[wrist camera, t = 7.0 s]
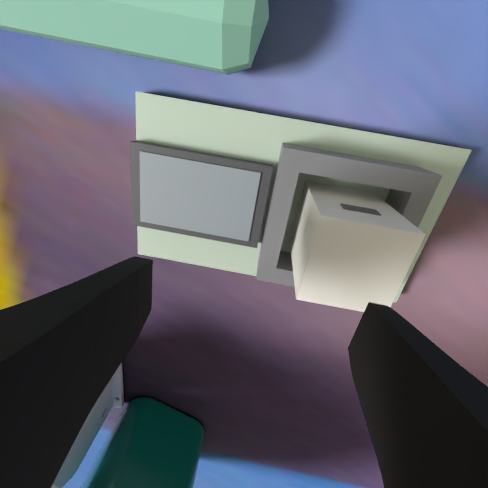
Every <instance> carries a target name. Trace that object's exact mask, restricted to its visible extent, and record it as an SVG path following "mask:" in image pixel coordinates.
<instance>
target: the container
mask: <svg viewBox="0 0 488 488" xmlns="http://www.w3.org/2000/svg"><path fill="white" fill-rule="evenodd" d="M268 20H269V6H268V0H0V29H2V30H7V31H12V32H17V33H22V34H27V35H32V36H37V37H42V38H47V39H52V40H57V41H62V42H67V43H72V44H77V45H82V46H87V47H92V48H97V49H102V50H107V51H112V52H117V53H122V54H127V55H132V56H137V57H142V58H148V59H153V60H158V61H163V62H168V63H173V64H178V65H183V66H188V67H193V68H198V69H203V70H208V71H213V72H218V73H223V74H232V73H235V72H239V71H242V70H245V69H249V68H251V65H252V63H253V60H254V57H255V55H256V52H257V49H258V47H259V44H260V41H261V39H262V36H263V33H264V31H265V28H266V25H267V23H268Z"/></svg>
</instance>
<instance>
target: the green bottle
mask: <svg viewBox="0 0 488 488" xmlns="http://www.w3.org/2000/svg"><path fill="white" fill-rule="evenodd" d="M204 434H205V433H204V429H203V427H202V425H201V423H199V422H198V421H197V420H196V419H194V418H192V417H190V416H188V415H186V414H184V413H182V412H180V411H178V410H176V409H174V408H172V407H170V406H168V405H166V404H164V403H161V402H159V401H157V400H155V399H153V398H149V397H139V398H136V399H133V400H131V401H130V402H129V404H128V405H127V406H126V408H125V409H124V410H123V412H122V413H121V415H120V416H119V417H118V419H117V420H116V421H115V423H114V424H113V426H112V427H111V429H110V431H109V433H108V435H107V437H106V439H105V441H104V443H103V445H102V447H101V448H100V450H99V452H98V454H97V456H96V458H95V460H94V462H93V464H92V466H91V468H90V470H89V472H88V473H87V475H86V477H85V479H84V481H83V483H82V485H81V487H80V488H193V485H194V480H195V475H196V471H197V466H198V462H199V457H200V453H201V448H202V443H203V439H204Z"/></svg>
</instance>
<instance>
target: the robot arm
mask: <svg viewBox="0 0 488 488" xmlns="http://www.w3.org/2000/svg"><path fill="white" fill-rule="evenodd" d="M152 264H153V260H150V259H145V258H140V257H132V258H129V259H127V260H124V261H122V262H119V263H117V264H115V265H113V266H110V267H108V268H106V269H104V270H102V271H99V272H97V273H95V274H93V275H90V276H88V277H86V278H84V279H81V280H79V281H77V282H74V283H72V284H69V285H67V286H64V287H62V288H59V289H57V290H54V291H52V292H49V293H47V294H44V295H42V296H39V297H37V298H34V299H31V300H29V301H26V302H23V303H20V304H17V305H14V306H11V307H8V308H5V309H2V310H0V488H62V487H63V486H64V485H65V484H66V483H67V482H68V481H69V480H70V479H71V478H72V476H73V475H74V474H75V472H76V471H77V469H78V467H79V466H80V464H81V462H82V460H83V459H84V457H85V455H86V453H87V451H88V449H89V448H90V446H91V444H92V442H93V440H94V439H95V437H96V435H97V433H98V431H99V430H100V428H101V426H102V424H103V422H104V421H105V419H106V417H107V415H108V413H109V411H110V410H111V408H112V407H115V408H122V407H123V405H124V391H123V372H122V361H123V360H124V358H125V356H126V355H127V353H128V352H129V350H130V349H131V347H132V345H133V344H134V342H135V341H136V339H137V337H138V336H139V334H140V332H141V330H142V328H143V326H144V324H145V322H146V320H147V317H148V315H149V313H150V311H151V303H152ZM348 351H349V358H350V364H351V370H352V375H353V380H354V383H355V387H356V390H357V393H358V397H359V400H360V403H361V407H362V410H363V413H364V416H365V420H366V423H367V426H368V429H369V433H370V436H371V439H372V442H373V446H374V449H375V452H376V455H377V459H378V463H379V467H380V470H381V474H382V479H383V483H384V488H488V387H487V386H486V385H484V384H483V383H482V382H481V381H479V380H478V379H477V378H476V377H474V376H473V375H472V374H470V373H469V372H468V371H467V370H465V369H464V368H463V367H462V366H460V365H459V364H458V363H457V362H456V361H454V360H453V359H452V358H451V357H449V356H448V355H447V354H446V353H445V352H443V351H442V350H441V349H440V348H439V347H437V346H436V345H435V344H434V343H433V342H432V341H430V340H429V339H428V338H427V337H426V336H424V335H423V334H422V333H421V332H420V331H419V330H417V329H416V328H415V327H414V326H413V325H412V324H410V323H409V322H408V321H407V320H405V319H404V318H403V317H402V316H401V315H399V314H398V313H397V312H395V311H394V310H393V309H391V308H390V307H389V306H386V305H381V304H376V303H371V302H369V303H368V305H367V307H366V309H365V311H364V314H363V316H362V318H361V320H360V323H359V325H358V327H357V329H356V331H355V334H354V336H353V338H352V340H351V342H350V345H349V347H348Z"/></svg>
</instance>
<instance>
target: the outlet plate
mask: <svg viewBox="0 0 488 488" xmlns="http://www.w3.org/2000/svg"><path fill="white" fill-rule="evenodd" d="M471 151H472V150H469V149H463V148H458V147H452V146H446V145H441V144H435V143H429V142H424V141H418V140H412V139H406V138H401V137H395V136H389V135H383V134H378V133H372V132H366V131H361V130H355V129H349V128H343V127H338V126H332V125H326V124H320V123H315V122H309V121H303V120H298V119H292V118H286V117H280V116H275V115H269V114H263V113H258V112H252V111H246V110H240V109H235V108H229V107H223V106H217V105H212V104H206V103H200V102H195V101H189V100H183V99H177V98H172V97H166V96H160V95H154V94H149V93H143V92H137V91H136V140H135V141H130V174H131V215H132V225H135V226H138V254H142V255H147V256H152V257H158V258H163V259H168V260H174V261H179V262H184V263H189V264H195V265H200V266H205V267H211V268H216V269H221V270H227V271H232V272H237V273H243V274H248V275H253V276H256V280H261V281H266V282H271V283H276V284H282V285H287V286H292V287H295V284H294V276H293V267H292V258H291V250H290V239H291V235H292V231H293V227H294V223H295V219H296V215H297V211H298V207H299V204H300V200H301V196H302V192H303V188H304V184H305V181H309V182H315V183H321V184H326V185H332V186H338V187H343V188H349V189H354V190H360V191H366V192H371V193H375V194H376V195H377V196H379V197H380V198H381V199H382V200H384V201H385V202H386V203H387V204H389V205H390V206H391V207H392V208H394V209H395V210H396V211H397V212H399V213H400V214H401V215H402V216H404V217H405V218H406V219H407V220H409V221H410V222H411V223H412V224H413V225H415V226H416V227H417V228H418V229H420V230H421V231H422V232H423V233H425V234H426V235H425V237H424V239H423V241H422V243H421V245H420V247H419V249H418V251H417V253H416V255H415V257H414V259H413V261H412V263H411V266H410V268H409V270H408V272H407V274H406V276H405V278H404V280H403V282H402V284H401V286H400V288H399V290H398V292H397V294H396V296H395V298H394V300H393V302H397V300H398V298H399V296H400V294H401V292H402V290H403V288H404V286H405V283H406V281H407V279H408V277H409V275H410V273H411V271H412V269H413V267H414V265H415V263H416V261H417V259H418V257H419V255H420V253H421V251H422V249H423V247H424V245H425V243H426V241H427V239H428V237H429V235H430V233H431V231H432V229H433V227H434V225H435V223H436V221H437V219H438V217H439V215H440V213H441V211H442V209H443V207H444V205H445V203H446V201H447V199H448V197H449V195H450V193H451V191H452V189H453V187H454V185H455V183H456V181H457V179H458V177H459V175H460V173H461V171H462V169H463V167H464V165H465V163H466V161H467V159H468V157H469V155H470V153H471Z"/></svg>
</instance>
